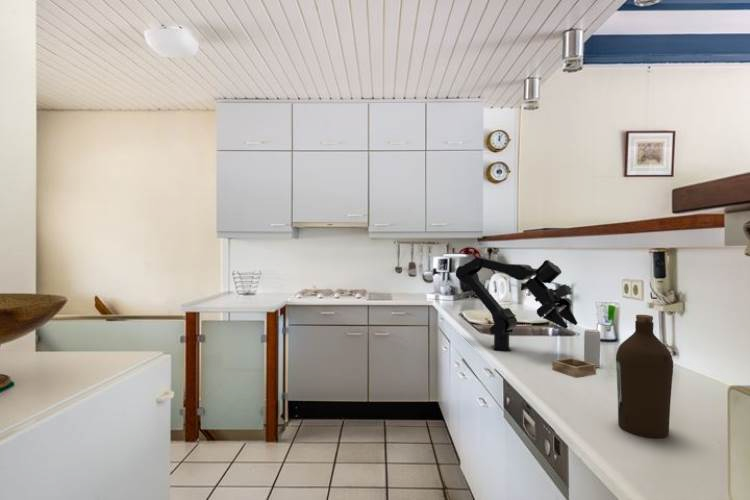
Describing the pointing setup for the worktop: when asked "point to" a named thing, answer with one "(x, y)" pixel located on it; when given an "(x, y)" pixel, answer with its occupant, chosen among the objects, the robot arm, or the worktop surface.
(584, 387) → the worktop surface
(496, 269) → the robot arm
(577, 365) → the walnut socket
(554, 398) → the worktop surface
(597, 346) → the beverage can
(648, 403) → the olive oil
